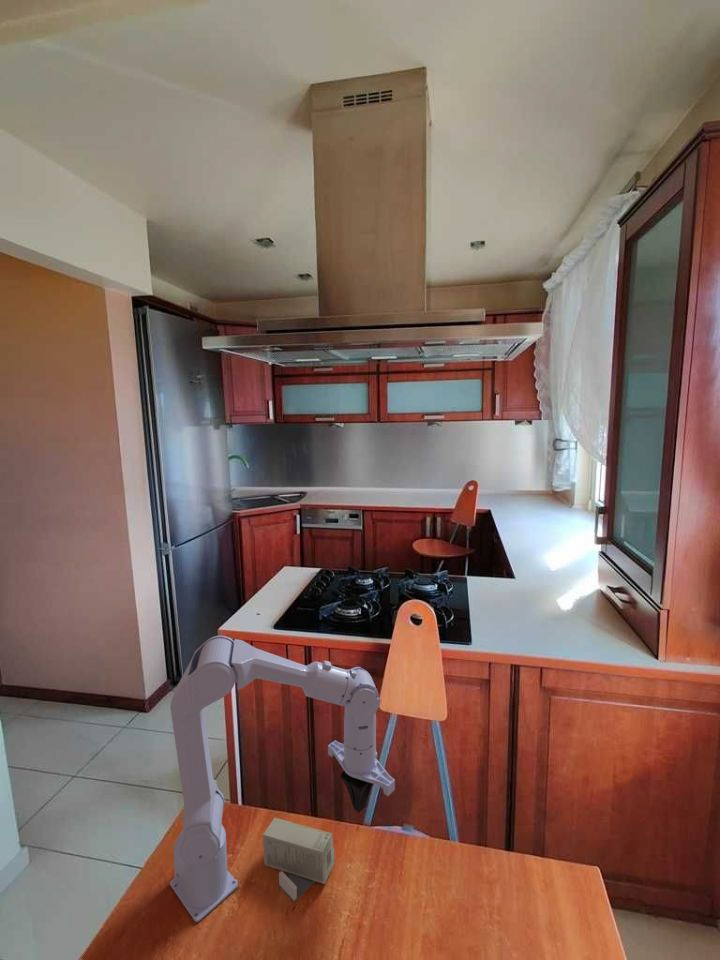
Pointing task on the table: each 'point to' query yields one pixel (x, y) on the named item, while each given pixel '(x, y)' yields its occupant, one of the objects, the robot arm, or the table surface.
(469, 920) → the table surface
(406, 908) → the table surface
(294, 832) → the skincare box
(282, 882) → the u rest
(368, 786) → the robot arm
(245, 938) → the table surface
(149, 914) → the table surface
